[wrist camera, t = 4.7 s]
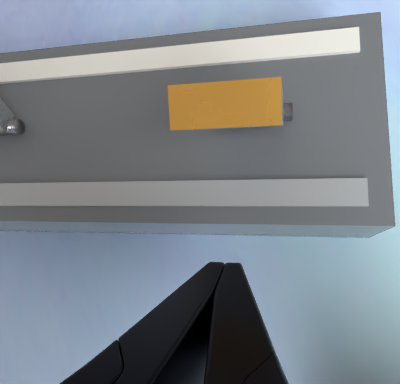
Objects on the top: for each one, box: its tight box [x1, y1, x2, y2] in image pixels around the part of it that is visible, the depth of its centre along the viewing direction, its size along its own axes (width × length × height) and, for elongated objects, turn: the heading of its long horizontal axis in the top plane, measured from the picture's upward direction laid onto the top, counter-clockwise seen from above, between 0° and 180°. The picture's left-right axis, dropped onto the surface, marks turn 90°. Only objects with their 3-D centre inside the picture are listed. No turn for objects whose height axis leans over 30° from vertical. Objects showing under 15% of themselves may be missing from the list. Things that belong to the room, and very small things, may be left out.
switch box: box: [0, 12, 395, 238], centre depth 21 cm, size 10×26×5 cm, turn 88°
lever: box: [168, 77, 293, 130], centre depth 13 cm, size 1×4×8 cm, turn 88°
